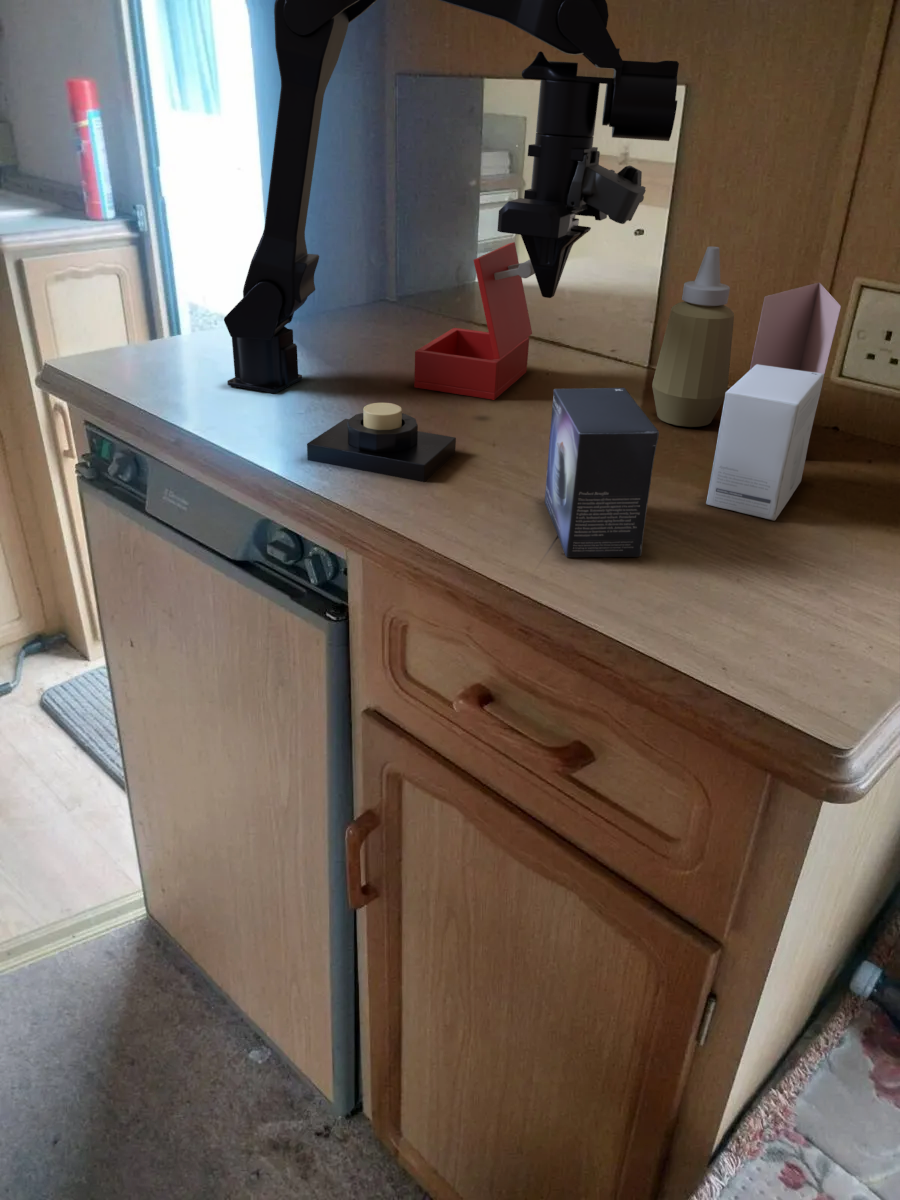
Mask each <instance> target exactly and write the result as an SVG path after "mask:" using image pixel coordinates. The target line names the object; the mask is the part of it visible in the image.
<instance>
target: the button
mask: <svg viewBox="0 0 900 1200" xmlns="http://www.w3.org/2000/svg"><path fill="white" fill-rule="evenodd" d="M362 411H363V412H362V413H363V418H364V426H365V427H367V428H370V429H376V430H392V429H396V428H401V427H402V413H403V408H402V407H401V406H400V405H398V404H395V403H391V402H373V403H368V404H367V405H365V406H364V407H363V409H362Z"/></svg>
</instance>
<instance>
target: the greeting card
mask: <svg viewBox="0 0 900 1200" xmlns="http://www.w3.org/2000/svg"><path fill="white" fill-rule="evenodd" d="M841 308H842V306H841V304H840V303H839V302H838V301H837V300H836V299H835V298H834V296H833V295H831V294H830V292H829V291H828V290H827V289H826V288H825V287H824V285H823V284H822V283H821V282H816V283H812V284H808V285H804V286H800V287H795V288H792V289H789V290H785V291H781V292H776V293H774V294H768V295H765V296H764V299H763V303H762V307H761V313H760V319H759V323H758V328H757V333H756V338H755V343H754V348H753V353H752V357H751V362H750V367H749V370H751V369H752V368H753V367H754V366H755V365H756V364H759V365H766V366H773V367H780V368H787V369H794V370H801V371H808V372H816V373H822V374H824V375H825V373H826V370H827V366H828V361H829V357H830V353H831V350H832V345H833V341H834V337H835V334H836V328H837V325H838V320H839V317H840V313H841Z"/></svg>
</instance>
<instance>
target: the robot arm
mask: <svg viewBox="0 0 900 1200" xmlns="http://www.w3.org/2000/svg"><path fill="white" fill-rule="evenodd" d="M377 1H378V0H274V6H273V7H274V9H273V16H274V18H273V19H274V41H275V43H274V45H275V53H276V58H277V59H276V60H277V64H278V65H277V66H278V70H279V71H278V72H279V75H280V76H279V77H280V93H279V101H278V111H277V116H276V117H277V119H276V126H275V133H274V134H275V135H274V143H273V154H272V162H271V169H270V177H269V186H268V193H267V203H266V210H265V220H264V227H263V232H262V235H261V237H260V239H259V241H258V244H257V246H256V249H255V252H254V254H253V256H252V258H251V261H250V264H249V267H248V271H247V274H246V277H245V281H244V285H243V288H242V299H240V301H239V302H238V303H236V305H234V307H233V308H232V309H231V310H230V311H229V312H228V313H227V314H226V316H224V318H223V321H224V324H225V327H226V329H227V331H228V334H229V336H230V337H231V346H232V358H233V369H234V370H233V371H234V376H233V377H232V378H230V379H228V380H227V382H226V383H227V386H228V387H236V388H242V389H245V390H246V389H248V390H252V391H259V392H266V393H271V394H277V393H279V392H281V391H283V390H284V389H287V388H288V387H290V386H292V385H294V384H296V383H298V382H300V381H302V380H303V375H302V374H300V373H299V362H298V361H299V359H298V345H297V344H296V343H294V330H293V328H287V327H286V325H288V324H290V323H292V321H293V317H294V315H295V312H297V310H299V309H300V308H301V307H302V306H303V305H304V304H305V302H306V301H307V300H308V297H309V296H310V295H312V294H313V293H314V292H315V291H316V285H315V273H316V270H317V266H318V264H319V260H320V255H319V254H315V253H308V249H307V243H306V226H307V219H308V211H309V204H310V197H311V188H312V183H313V175H314V169H315V162H316V155H317V148H318V140H319V132H320V125H321V119H322V111H323V106H324V105H323V103H324V98H325V92H326V90H327V87H328V85H329V83H330V80H331V78H332V76H333V72H334V71H335V69H336V66H337V64H338V61H339V58H340V55H341V52H342V49H343V45H344V42H345V39H346V35H347V32H348V28H349V25H350V23H351V22H353V21H354V20H355V19H357V18H359V17H360V16H361V15H362V14H364V13H365V12H366V11H367V10H368V9H369V8H370V7H372V6H373V5H374V4H375V3H376V2H377ZM438 1H440V2H442V3H446V4H449V5H453V6H456V7H459V8H462V9H465V10H468V11H472V12H475V13H477V14H481V15H483V16H487V17H491V18H494V19H498V20H501V21H504V22H507V23H508V24H510V25H512V26H514V27H516V28H517V29H519V30H520V31H523V32H524V33H526V34H528V35H530V36H532V37H534V38H536V39H538V40H539V41H541V42H543V43H544V44H547V45H548V46H550V47H552V48H554V49H556V50H557V51H559V52H561V53H563V54H566V55H570V56H571V55H572V56H580V55H582V56H583V57H584V58H585V59H587V60H588V61H589V62H590V63H591V64H592V65H593V66H594V67H595V68H596V69H605V70H607V69H608V70H613V76H612V77H603V76H602V77H601V76H585V75H584V76H583V75H578V67H579V63H578V62H574V61H556V60H548V59H547V57H546V55H545V53H544V52H543V51H538V52H537V54H536V56H535V58H534V59H533V61H532V62H531V63H530V64H529V65H528V66H527V67H525V68H524V69H523V70H522V71H521V77H522V78H523V79H525V80H534V81H535V80H537V81H540V82H539V83H540V84H539V94H538V103H537V104H538V105H537V118H536V126H535V127H536V129H535V139H534V143H532V144H528V145H527V146H528V147H527V148H528V149H527V157H532V158H533V163H532V174H531V183H530V184H531V185H530V188H528V189H524V192H523V193H524V195H523V198H522V197H521V198H520V197H519V198H516V199H512V200H508V201H507V202H506V203H505V204H504V205H503V206H502V207H501V208H499V210H498V218H497V232H499V233H504V234H510V235H511V234H512V235H520V237H521V239H522V242H523V245H524V247H525V250H526V252H527V255H528V258H529V260H530V261H531V264H532V267H533V270H534V273H535V274H534V275H535V278H536V282H537V285H538V288H539V291H540V294H541V296H542V297H543V298H547V299H552V298H553V297H554V296H555V294H556V292H557V289H558V286H559V283H560V282H561V281H560V280H561V278H562V275H563V272H564V270H565V267H566V264H567V261H568V258H569V255H570V253H571V250H572V248H573V246H574V244H575V243H576V242H577V241H579V240H580V239H581V238H583V236H585V235H586V234H587V233H589V232H590V231H591V229H592V227H590V226H586V225H585V226H584V225H579V223H580V219H579V218H576V216H583V217H592V218H594V221H599V222H600V221H603V220H605V219H607V218H608V219H610V220H611V221H613V222H615V223H618V224H619V225H620V224H621V225H625V224H626V223H627V222H631V221H632V219H633V217H634V215H635V214H636V212H637V209H638V207H639V205H640V204H641V203H643V201H644V199H645V193H646V187H645V186H644V185H642V177H643V175H642V173H643V172H642V170H640V169H638V168H636V167H634V166H632V165H626V166H624V167H623V168H622V169H621V170H620V171H618V172H616V171H615V170H614V169H608V168H606V167H605V166H602V165H600V155H601V152H600V150H598V148H599V147H597V146H594V136H595V130H596V129H595V128H596V121H597V120H596V119H597V111H598V104H599V103H598V102H599V94H600V85H601V84H602V85H603V84H605V85H606V86H605V92H604V103H603V109H602V118H601V119H602V120H601V125H602V126H605V127H609V128H611V138H613V139H629V140H644V141H658V142H659V141H660V142H670V140H671V138H672V137H671V136H672V133H673V129H674V124H675V120H676V113H677V107H678V100H677V91H678V89H677V88H678V75H679V74H678V73H679V67H680V63H679V61H678V60H660V61H641V60H640V61H639V60H623V58H622V56H621V54H620V52H621V48H620V47H618V48H617V47H616V44H615V42H614V40H613V39H612V37H611V34H610V32H609V31H608V29H607V28H608V21H609V6H608V3H607V0H438Z"/></svg>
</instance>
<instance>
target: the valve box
mask: <svg viewBox="0 0 900 1200" xmlns="http://www.w3.org/2000/svg"><path fill="white" fill-rule="evenodd" d="M529 346H530V337H527V338H526V339H525V340H523V341H522V342H521V343H519V344H518V345H517V346H516V347H514V348H513V349H512V350H510V351H509V352H508V353H506V354H505V355H504V356H502V357H501V358H500V359H494V355H493V350H492V346H491V341H490V336H489V331H482V330H474V329H468V328H459V327H452V328H451V329H450V330H448V331H446V332H444V333H443V334H441V335H439V336H438V337H436V338H435V339H432V340H431V341H430V342H428V343H426V344H425V345H423V346H421V347H419V348H418V349H416V350H415V351H414V381H413V382H414V384H413V385H414V386H413V388H415V389H421V390H429V391H435V392H440V393H447V394H454V395H460V396H467V397H474V398H479V399H485V400H491V401H494V400H496V399H497V398H499V396H501V395H502V394H503V393H504V392H506V391H507V390H508V389H509V388H510V387H511V386H513V384H515V383H516V382H518V380H519V379H521V378H522V377H523V376H524V375H525V374H526V373H528V361H529V359H528V358H529V349H530V348H529Z"/></svg>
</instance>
